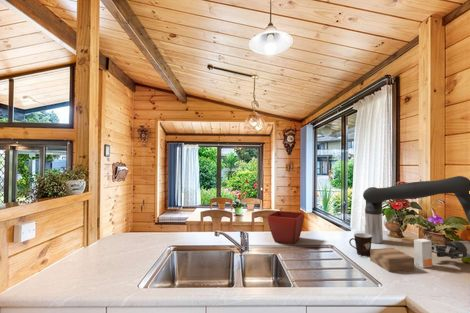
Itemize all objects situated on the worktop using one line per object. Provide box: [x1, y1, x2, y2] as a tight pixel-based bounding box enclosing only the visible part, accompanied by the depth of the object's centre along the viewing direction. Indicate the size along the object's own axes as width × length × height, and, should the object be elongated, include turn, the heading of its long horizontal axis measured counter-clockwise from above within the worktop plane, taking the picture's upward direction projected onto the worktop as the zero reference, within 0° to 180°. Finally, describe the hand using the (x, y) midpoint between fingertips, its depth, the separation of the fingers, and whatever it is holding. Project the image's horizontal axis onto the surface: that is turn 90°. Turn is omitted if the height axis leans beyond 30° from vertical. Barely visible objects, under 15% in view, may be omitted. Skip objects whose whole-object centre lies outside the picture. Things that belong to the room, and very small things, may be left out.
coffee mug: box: [348, 232, 372, 257], centre depth 140 cm, size 12×9×10 cm
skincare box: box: [413, 238, 433, 269], centre depth 122 cm, size 6×4×12 cm
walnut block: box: [369, 247, 416, 273], centre depth 123 cm, size 14×12×6 cm
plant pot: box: [266, 210, 305, 245], centre depth 167 cm, size 19×19×17 cm
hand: (429, 251), depth 122 cm, fingers open, 8 cm apart
